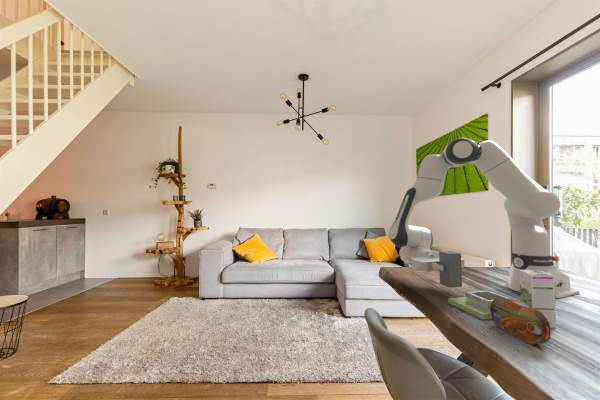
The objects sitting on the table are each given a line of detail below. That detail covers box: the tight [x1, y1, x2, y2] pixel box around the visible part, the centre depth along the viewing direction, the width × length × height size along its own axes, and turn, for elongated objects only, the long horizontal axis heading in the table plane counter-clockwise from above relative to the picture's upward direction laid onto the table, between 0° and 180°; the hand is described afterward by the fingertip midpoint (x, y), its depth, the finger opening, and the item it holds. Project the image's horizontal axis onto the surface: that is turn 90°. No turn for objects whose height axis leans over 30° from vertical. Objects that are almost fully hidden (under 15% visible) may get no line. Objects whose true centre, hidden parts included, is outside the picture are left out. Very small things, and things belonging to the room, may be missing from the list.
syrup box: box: [519, 270, 557, 329], centre depth 76 cm, size 6×6×14 cm
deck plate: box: [447, 290, 513, 321], centre depth 86 cm, size 16×14×4 cm
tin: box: [490, 298, 552, 345], centre depth 69 cm, size 15×3×8 cm, turn 5°
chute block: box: [439, 250, 463, 289], centre depth 98 cm, size 5×5×12 cm
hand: (452, 267), depth 97 cm, fingers closed on chute block, 5 cm apart
